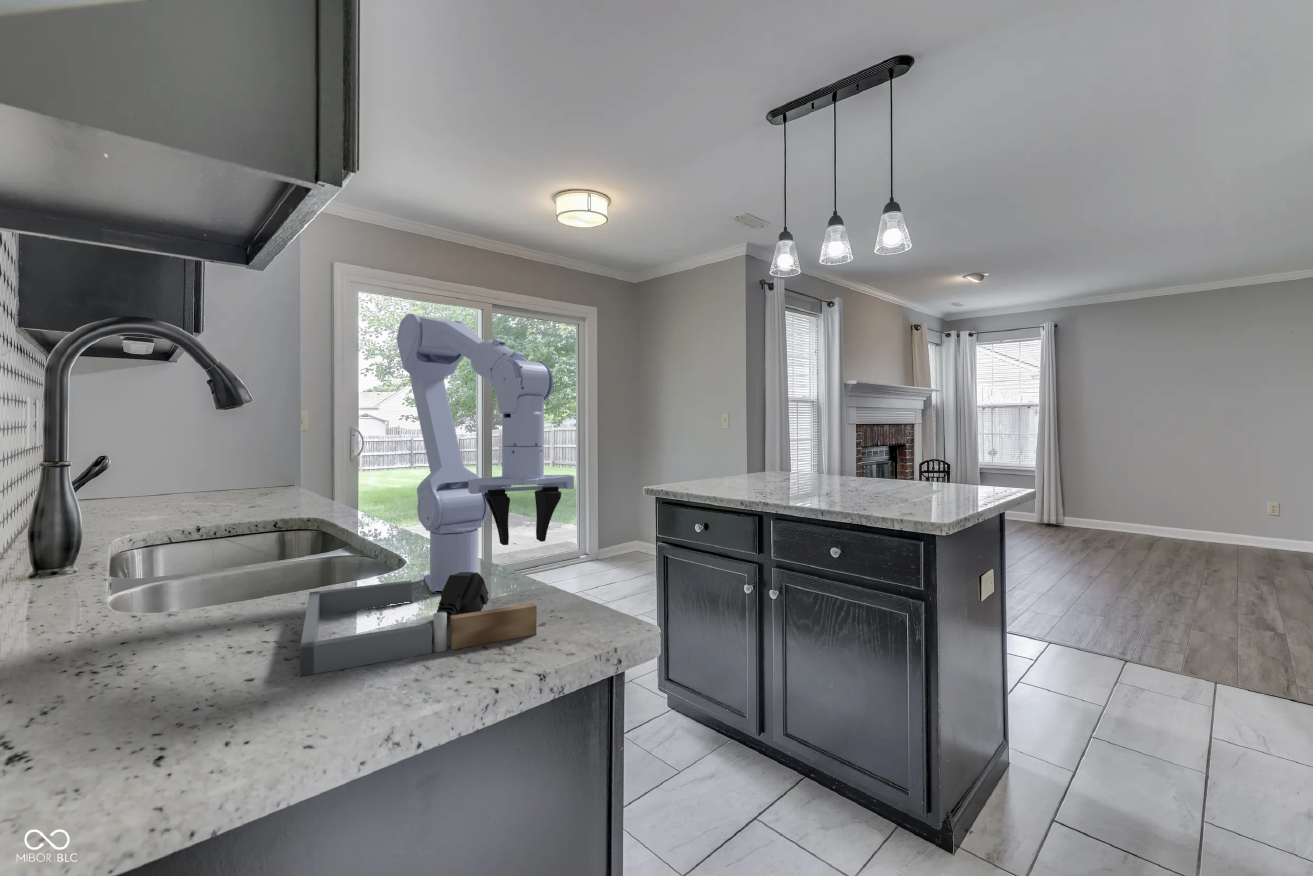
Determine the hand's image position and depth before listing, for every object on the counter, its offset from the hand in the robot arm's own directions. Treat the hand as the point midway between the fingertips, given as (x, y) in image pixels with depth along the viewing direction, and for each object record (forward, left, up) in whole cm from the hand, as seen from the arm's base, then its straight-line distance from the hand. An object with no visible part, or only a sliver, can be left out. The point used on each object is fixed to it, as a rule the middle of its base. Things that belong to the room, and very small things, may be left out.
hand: (522, 542), depth 80 cm
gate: (+10, -6, -9) cm, 15 cm away
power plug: (+3, -10, -10) cm, 14 cm away
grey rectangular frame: (0, -19, -9) cm, 21 cm away
